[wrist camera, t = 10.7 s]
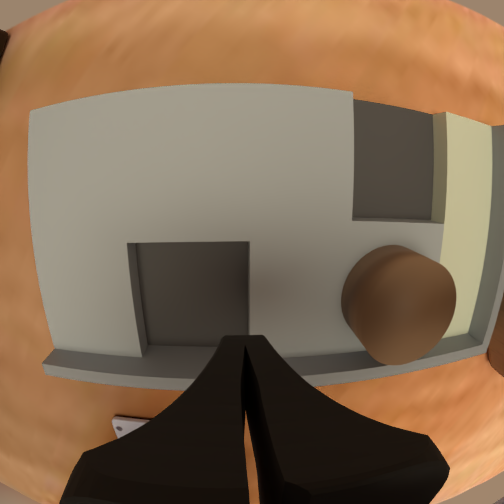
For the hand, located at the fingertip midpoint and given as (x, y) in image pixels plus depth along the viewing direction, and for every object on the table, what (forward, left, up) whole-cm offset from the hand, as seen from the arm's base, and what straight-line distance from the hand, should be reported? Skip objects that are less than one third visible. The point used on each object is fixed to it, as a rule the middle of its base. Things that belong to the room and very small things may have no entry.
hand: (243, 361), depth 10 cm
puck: (0, -8, -6) cm, 10 cm away
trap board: (+3, -3, -7) cm, 8 cm away
